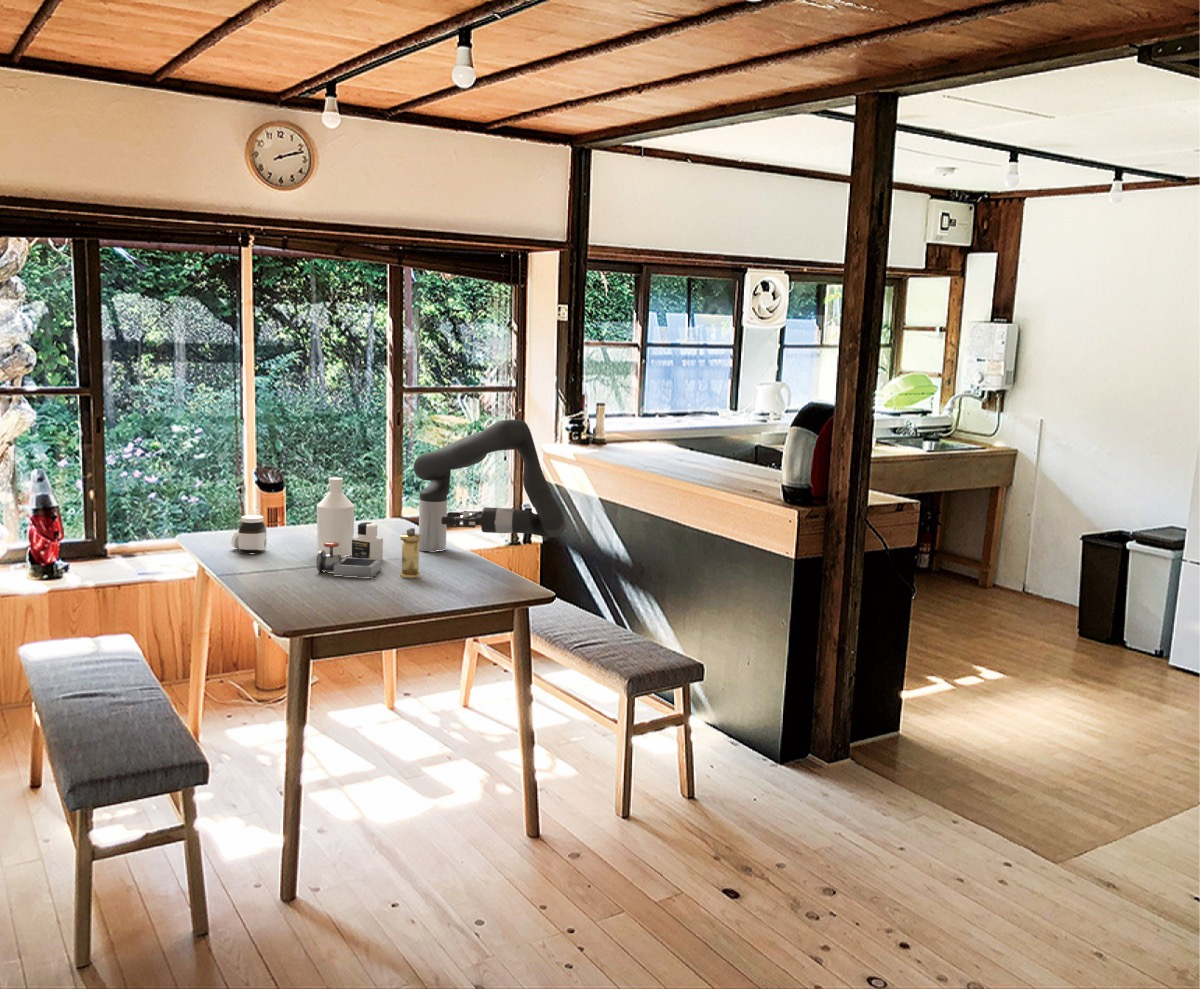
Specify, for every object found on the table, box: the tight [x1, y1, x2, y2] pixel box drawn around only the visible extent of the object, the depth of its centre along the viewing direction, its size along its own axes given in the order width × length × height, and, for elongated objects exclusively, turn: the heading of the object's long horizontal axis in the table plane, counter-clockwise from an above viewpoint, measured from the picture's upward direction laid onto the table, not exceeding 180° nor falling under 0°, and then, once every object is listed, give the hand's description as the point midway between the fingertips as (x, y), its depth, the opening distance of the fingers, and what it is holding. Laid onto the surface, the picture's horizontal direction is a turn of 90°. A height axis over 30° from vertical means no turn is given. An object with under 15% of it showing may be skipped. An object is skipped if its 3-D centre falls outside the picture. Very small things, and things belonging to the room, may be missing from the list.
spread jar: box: [230, 514, 268, 554], centre depth 345 cm, size 12×11×12 cm
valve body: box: [399, 527, 421, 579], centre depth 320 cm, size 6×6×15 cm
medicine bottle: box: [351, 521, 384, 560], centre depth 340 cm, size 7×7×12 cm
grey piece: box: [316, 542, 382, 578], centre depth 322 cm, size 11×17×9 cm, turn 87°
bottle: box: [316, 476, 355, 556], centre depth 345 cm, size 12×12×25 cm
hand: (444, 518), depth 318 cm, fingers open, 8 cm apart
